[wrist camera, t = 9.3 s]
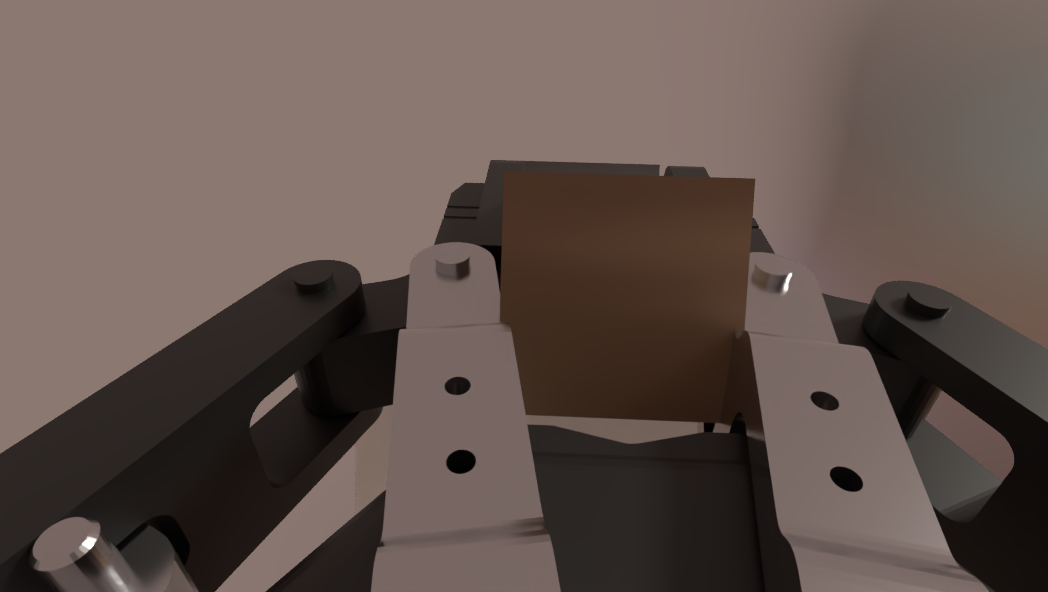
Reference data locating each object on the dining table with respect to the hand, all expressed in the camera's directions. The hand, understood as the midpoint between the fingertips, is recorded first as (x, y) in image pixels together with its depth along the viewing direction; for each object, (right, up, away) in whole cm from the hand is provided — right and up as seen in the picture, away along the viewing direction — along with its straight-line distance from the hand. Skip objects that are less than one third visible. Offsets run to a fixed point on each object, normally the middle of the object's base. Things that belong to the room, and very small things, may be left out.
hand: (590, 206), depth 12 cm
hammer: (0, -3, +4) cm, 5 cm away
